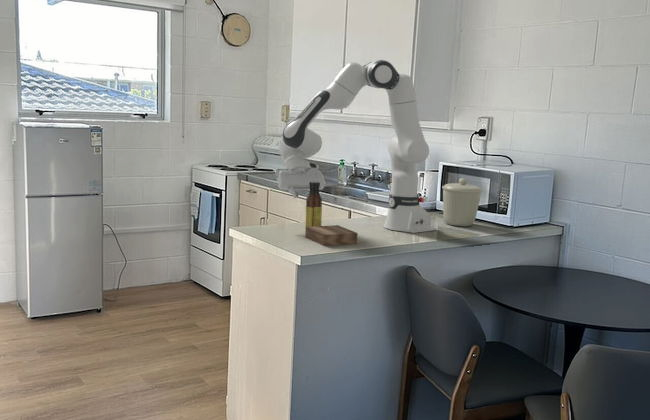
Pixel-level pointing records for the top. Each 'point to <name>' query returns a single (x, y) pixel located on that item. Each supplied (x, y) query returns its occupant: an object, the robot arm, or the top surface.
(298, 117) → the robot arm
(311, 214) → the sauce bottle
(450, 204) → the canister
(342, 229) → the block
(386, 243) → the top surface
